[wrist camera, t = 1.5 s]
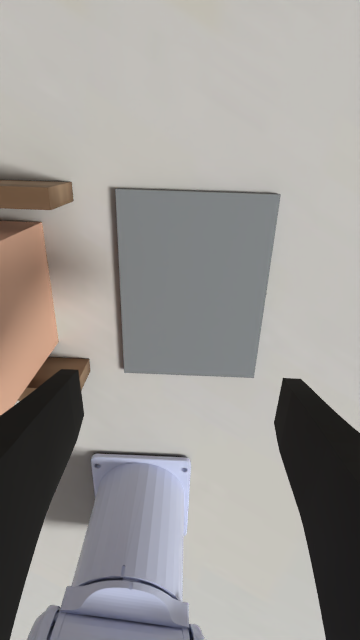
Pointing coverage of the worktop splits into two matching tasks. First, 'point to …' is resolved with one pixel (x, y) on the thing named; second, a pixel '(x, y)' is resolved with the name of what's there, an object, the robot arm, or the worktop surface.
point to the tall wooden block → (23, 308)
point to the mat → (193, 279)
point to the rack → (42, 198)
